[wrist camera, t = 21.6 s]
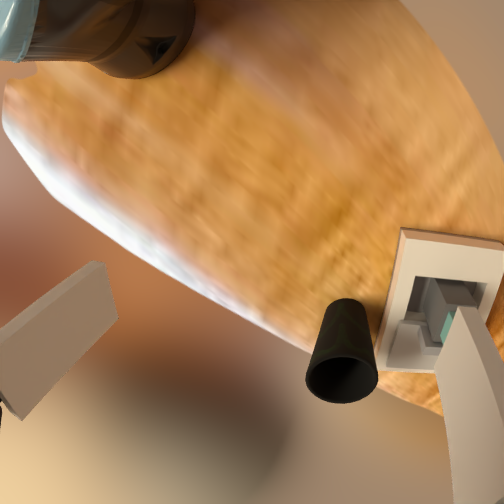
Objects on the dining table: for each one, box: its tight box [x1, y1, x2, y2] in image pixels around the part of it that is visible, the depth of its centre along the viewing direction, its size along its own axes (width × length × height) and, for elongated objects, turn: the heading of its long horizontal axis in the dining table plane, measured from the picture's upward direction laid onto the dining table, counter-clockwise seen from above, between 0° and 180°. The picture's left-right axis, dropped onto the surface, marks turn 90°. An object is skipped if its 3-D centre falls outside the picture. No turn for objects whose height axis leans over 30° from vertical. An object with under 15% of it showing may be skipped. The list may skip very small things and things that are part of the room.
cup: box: [305, 298, 378, 404], centre depth 35 cm, size 8×8×12 cm
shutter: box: [386, 320, 443, 370], centre depth 33 cm, size 7×11×5 cm, turn 90°
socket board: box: [373, 227, 504, 373], centre depth 35 cm, size 19×14×4 cm
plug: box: [423, 277, 477, 345], centre depth 29 cm, size 5×4×12 cm
